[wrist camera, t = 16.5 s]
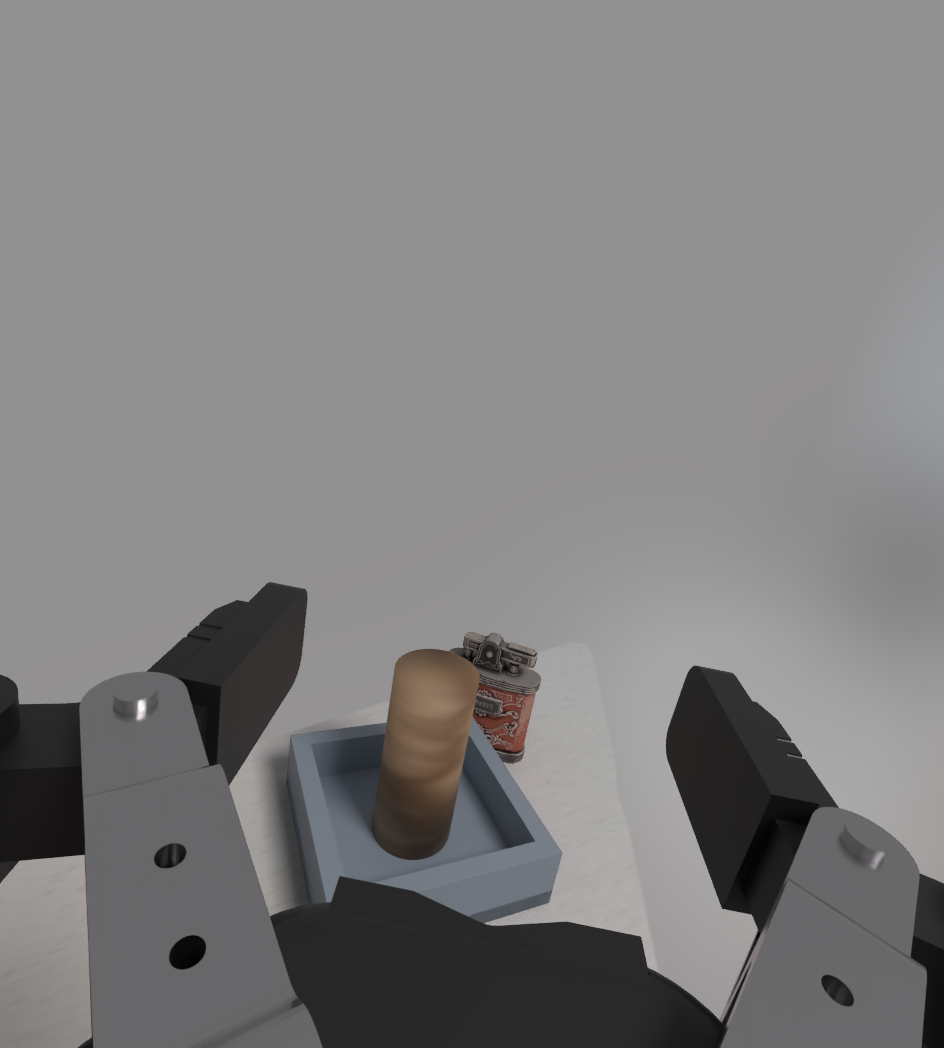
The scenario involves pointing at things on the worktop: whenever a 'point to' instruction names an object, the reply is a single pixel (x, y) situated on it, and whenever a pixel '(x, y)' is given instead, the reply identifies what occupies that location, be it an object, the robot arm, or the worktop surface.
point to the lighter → (502, 690)
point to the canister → (423, 752)
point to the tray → (451, 874)
